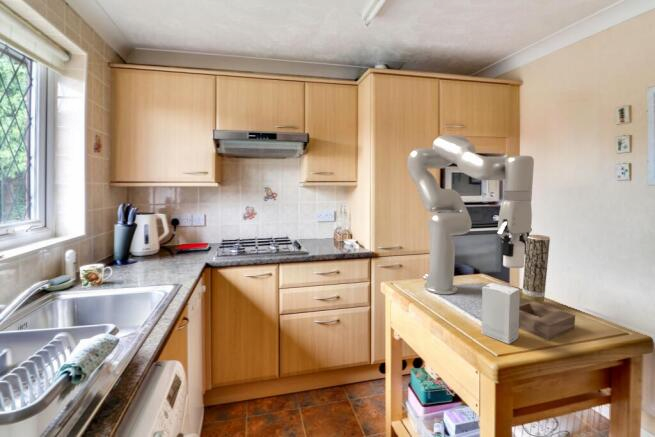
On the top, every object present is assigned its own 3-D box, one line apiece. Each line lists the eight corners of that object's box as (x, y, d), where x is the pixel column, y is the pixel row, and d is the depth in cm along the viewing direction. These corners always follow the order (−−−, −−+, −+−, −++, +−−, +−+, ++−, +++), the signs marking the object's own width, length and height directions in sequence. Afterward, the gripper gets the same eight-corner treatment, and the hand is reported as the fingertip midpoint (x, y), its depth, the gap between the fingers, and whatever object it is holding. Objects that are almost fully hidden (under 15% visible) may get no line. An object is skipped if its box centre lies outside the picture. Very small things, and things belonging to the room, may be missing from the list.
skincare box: (518, 339, 93) (522, 289, 91) (508, 345, 89) (512, 293, 87) (489, 327, 100) (492, 281, 98) (479, 333, 96) (482, 285, 94)
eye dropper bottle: (522, 269, 99) (524, 231, 97) (501, 266, 102) (503, 229, 101) (524, 266, 102) (527, 229, 101) (504, 264, 106) (506, 227, 104)
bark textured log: (547, 309, 113) (553, 238, 110) (525, 307, 114) (531, 238, 111) (538, 301, 120) (544, 235, 116) (518, 300, 121) (523, 234, 118)
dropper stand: (495, 318, 106) (496, 305, 105) (521, 309, 112) (522, 297, 112) (547, 340, 92) (549, 325, 91) (573, 329, 98) (575, 315, 98)
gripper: (522, 195, 107) (519, 249, 109) (487, 197, 99) (484, 255, 101) (546, 196, 100) (542, 254, 102) (510, 198, 92) (507, 260, 95)
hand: (513, 254), depth 102 cm, fingers closed on eye dropper bottle, 5 cm apart
